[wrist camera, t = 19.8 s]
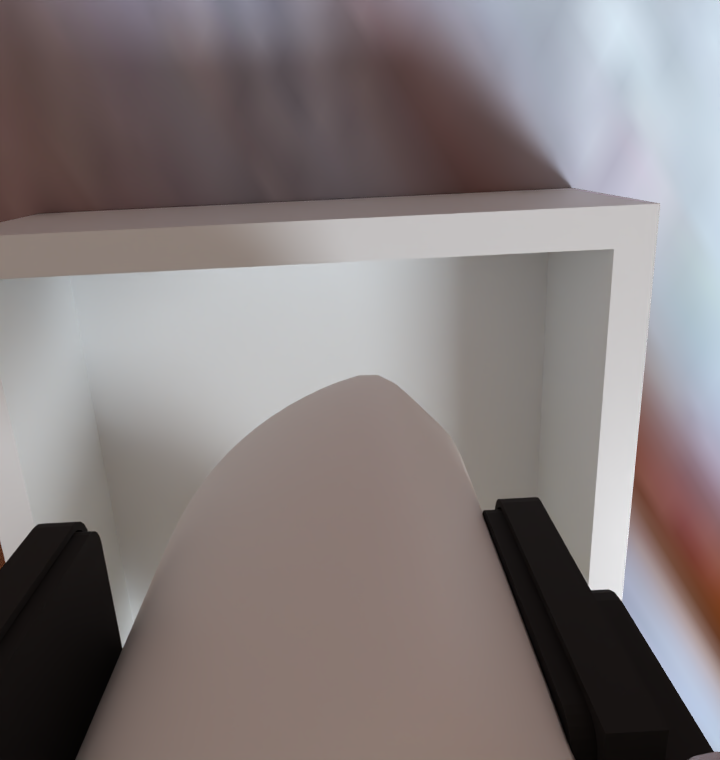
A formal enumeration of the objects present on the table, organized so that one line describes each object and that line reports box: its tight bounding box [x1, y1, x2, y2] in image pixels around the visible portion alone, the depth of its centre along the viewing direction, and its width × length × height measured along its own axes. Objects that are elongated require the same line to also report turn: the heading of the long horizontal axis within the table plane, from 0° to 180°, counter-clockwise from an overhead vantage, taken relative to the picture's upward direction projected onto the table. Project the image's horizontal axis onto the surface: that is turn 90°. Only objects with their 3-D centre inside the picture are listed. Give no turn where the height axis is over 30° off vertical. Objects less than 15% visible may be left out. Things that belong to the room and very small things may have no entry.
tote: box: [0, 188, 660, 649], centre depth 18 cm, size 18×14×5 cm
